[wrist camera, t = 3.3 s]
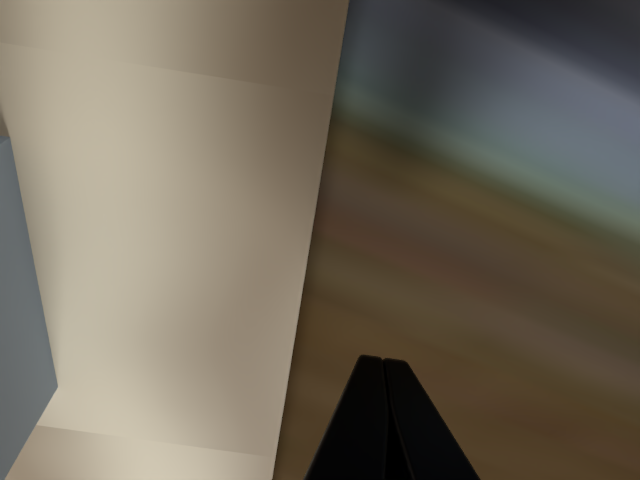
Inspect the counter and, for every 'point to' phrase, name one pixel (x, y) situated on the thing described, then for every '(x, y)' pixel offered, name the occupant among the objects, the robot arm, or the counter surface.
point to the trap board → (167, 222)
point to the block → (19, 323)
